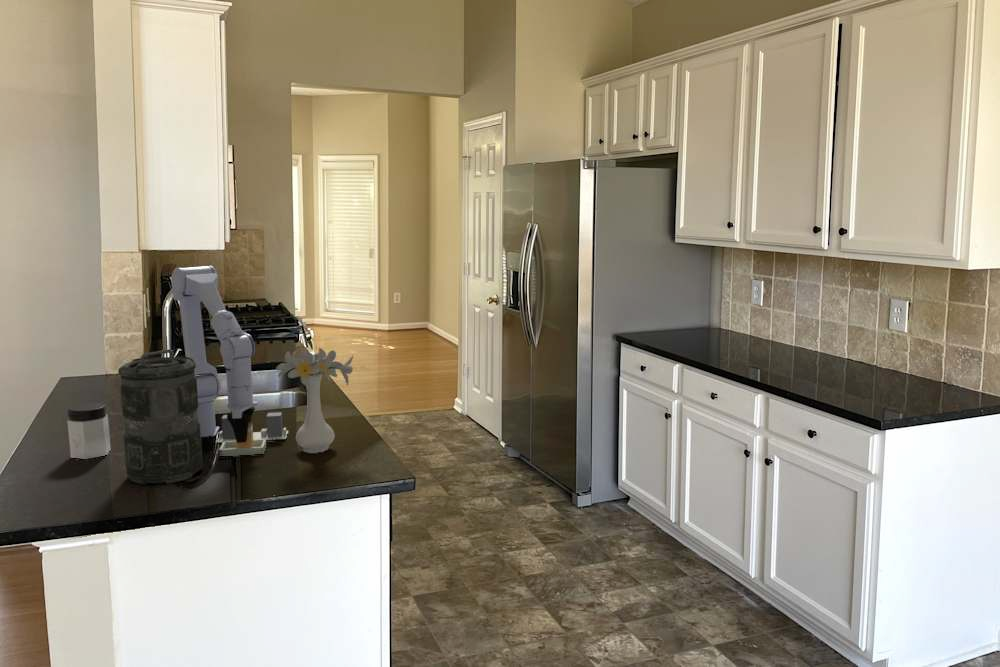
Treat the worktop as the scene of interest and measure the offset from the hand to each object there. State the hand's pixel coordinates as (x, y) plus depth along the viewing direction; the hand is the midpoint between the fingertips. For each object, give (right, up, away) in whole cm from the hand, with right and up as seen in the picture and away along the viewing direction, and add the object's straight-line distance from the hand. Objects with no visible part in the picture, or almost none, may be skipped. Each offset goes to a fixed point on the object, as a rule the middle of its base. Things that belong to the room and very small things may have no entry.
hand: (242, 439), depth 198 cm
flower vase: (+18, -3, +2) cm, 18 cm away
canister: (-12, -6, -16) cm, 21 cm away
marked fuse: (0, -2, 0) cm, 2 cm away
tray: (0, -3, +1) cm, 3 cm away
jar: (-36, -4, -2) cm, 36 cm away
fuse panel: (-1, -1, +11) cm, 11 cm away
